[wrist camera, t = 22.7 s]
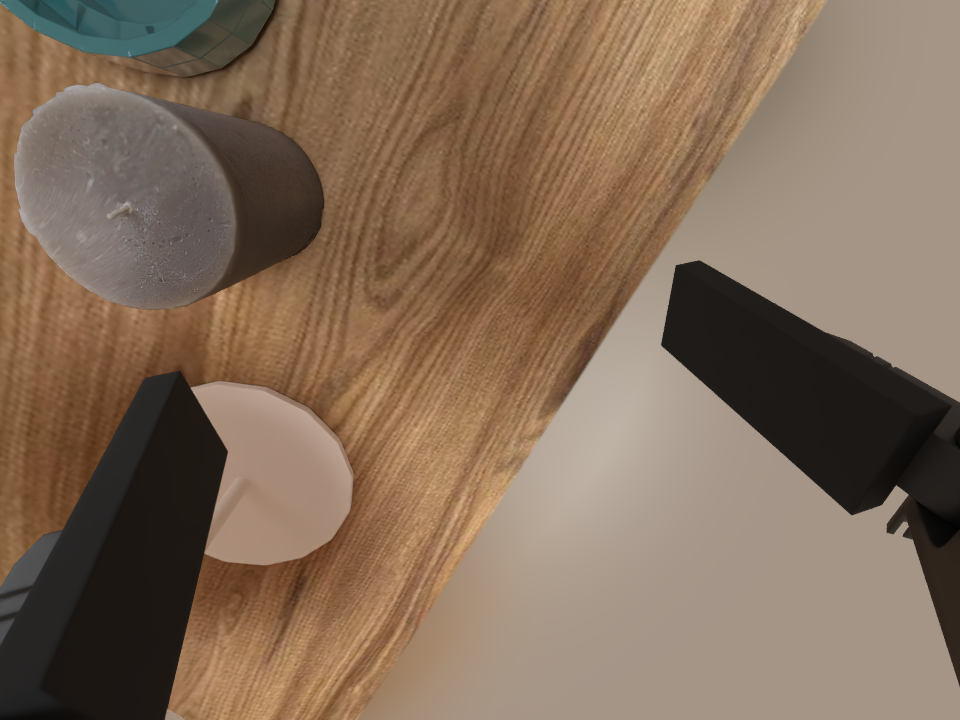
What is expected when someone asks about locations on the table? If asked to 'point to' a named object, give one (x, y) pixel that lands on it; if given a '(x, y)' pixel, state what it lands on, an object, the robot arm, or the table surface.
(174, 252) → the pillar candle
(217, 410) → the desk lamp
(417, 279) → the table surface
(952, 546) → the robot arm
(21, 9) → the bowl
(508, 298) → the table surface
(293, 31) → the table surface
